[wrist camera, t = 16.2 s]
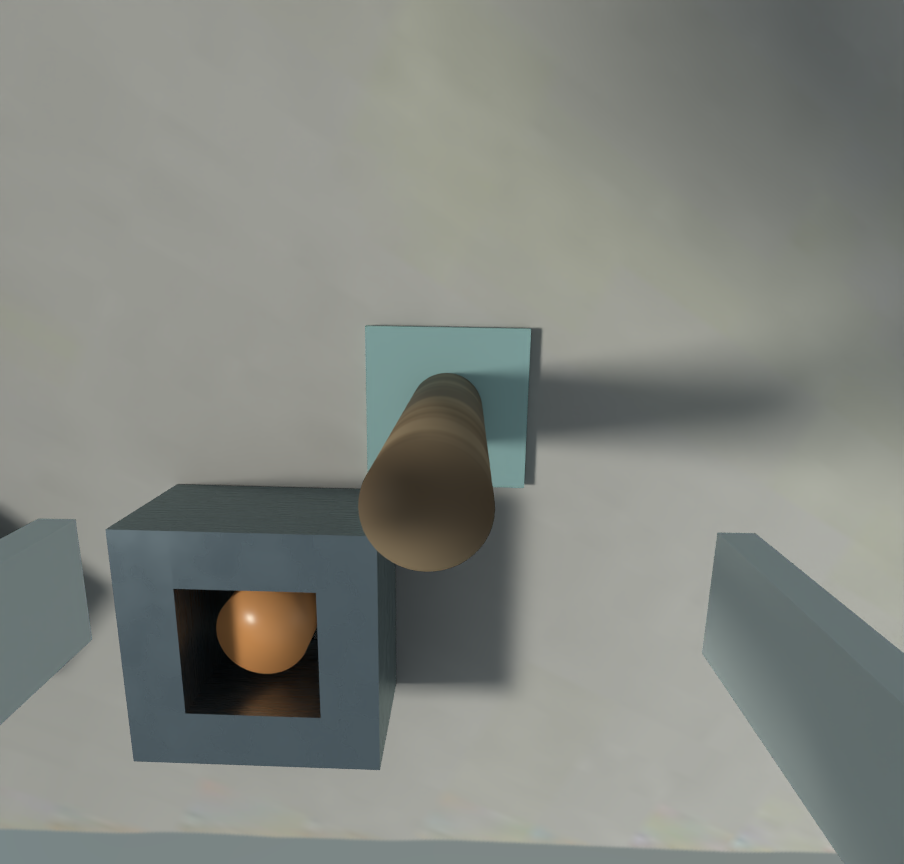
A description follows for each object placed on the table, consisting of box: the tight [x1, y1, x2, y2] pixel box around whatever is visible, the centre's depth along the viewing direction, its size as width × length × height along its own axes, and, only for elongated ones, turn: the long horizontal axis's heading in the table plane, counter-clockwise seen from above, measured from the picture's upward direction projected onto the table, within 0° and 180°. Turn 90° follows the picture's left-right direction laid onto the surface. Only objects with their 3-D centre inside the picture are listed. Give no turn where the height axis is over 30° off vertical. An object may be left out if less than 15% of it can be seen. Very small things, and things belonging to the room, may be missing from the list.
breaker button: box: [216, 591, 317, 674], centre depth 34 cm, size 5×5×5 cm
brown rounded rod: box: [358, 373, 495, 572], centre depth 25 cm, size 4×4×16 cm
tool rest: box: [365, 326, 531, 488], centre depth 33 cm, size 9×9×1 cm
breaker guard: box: [106, 484, 396, 770], centre depth 33 cm, size 13×13×7 cm
